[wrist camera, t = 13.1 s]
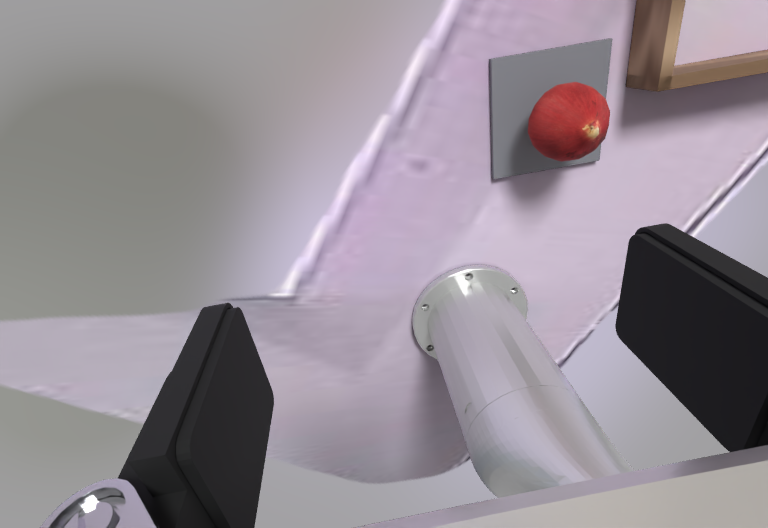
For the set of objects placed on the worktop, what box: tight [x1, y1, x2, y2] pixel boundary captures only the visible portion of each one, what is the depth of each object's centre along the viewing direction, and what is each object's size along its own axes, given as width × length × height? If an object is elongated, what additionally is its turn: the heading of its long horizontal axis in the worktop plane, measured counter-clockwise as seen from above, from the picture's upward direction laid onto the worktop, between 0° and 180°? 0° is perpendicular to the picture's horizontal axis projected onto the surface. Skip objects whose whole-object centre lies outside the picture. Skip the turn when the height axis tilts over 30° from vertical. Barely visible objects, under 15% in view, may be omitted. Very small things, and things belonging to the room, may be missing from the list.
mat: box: [489, 39, 612, 179], centre depth 36 cm, size 10×10×1 cm
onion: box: [528, 82, 610, 162], centre depth 32 cm, size 6×6×8 cm
